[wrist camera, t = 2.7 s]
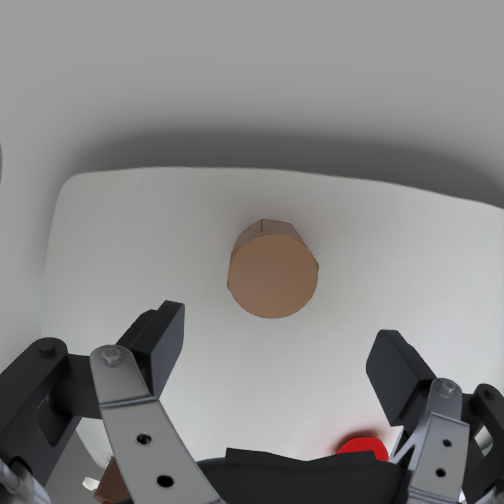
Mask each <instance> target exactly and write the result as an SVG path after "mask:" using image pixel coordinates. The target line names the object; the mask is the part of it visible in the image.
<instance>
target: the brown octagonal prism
mask: <svg viewBox="0 0 504 504" xmlns="http://www.w3.org/2000/svg"><path fill="white" fill-rule="evenodd" d="M318 269H319V266H318V263H317V261H316V260H315V258H314V257H313V255H312V254H311V252H310V251H309V249H308V248H307V246H306V245H305V243H304V242H303V241H302V239H301V238H300V236H299V235H298V233H297V232H296V231H295V229H294V228H293V226H292V225H291V224H289V223H284V222H277V221H271V220H265V219H263V220H260V221H258V222H257V223H256V224H254V225H253V226H252V227H250V228H249V229H247V230H246V231H245V232H243V233H242V234H241V235H239V237H238V239H237V241H236V244H235V246H234V248H233V251H232V253H231V259H230V266H229V271H228V282H227V286H228V289H229V290H230V291H231V293H232V295H233V297H234V299H235V300H236V301H237V303H238V304H239V305H240V306H241V307H242V308H244V309H245V310H246V311H247V312H249V313H251V314H253V315H256V316H259V317H263V318H271V319H272V318H282V317H286V316H289V315H291V314H293V313H295V312H297V311H298V310H300V309H301V308H302V307H303V306H305V305H306V304H307V302H308V301H309V300H311V299H310V298H312V295H313V293H314V291H315V288H316V285H317V276H318Z"/></svg>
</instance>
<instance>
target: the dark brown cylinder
mask: <svg viewBox="0 0 504 504" xmlns="http://www.w3.org/2000/svg"><path fill="white" fill-rule="evenodd" d="M129 496H131V495H130V493H129V491H128V489H127V487H126V484H125V482H124V480H123V477H122V475H121V472H120V470H119V467H118V465H117V462H116V459H115V457H112V458H111V460H110V462H109V464H108V467H107V469H106V471H105V473H104V475H103V477H102V479H101V481H100V483H99V486H98V488H97V490H96V492H95V494H94V498H95V499H96V500H97V501H99V502H100V503H102V504H114V503H116V502H118V501H120V500H122V499H124V498H126V497H129Z"/></svg>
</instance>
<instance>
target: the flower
mask: <svg viewBox="0 0 504 504" xmlns="http://www.w3.org/2000/svg"><path fill="white" fill-rule="evenodd" d="M368 450H374V453H375V456H376V459H377V460H383V461H388V459H389V456H388V452H387V450H386V448H385V446H384V444H383V443H382V442H381V441H380V440H379V439H378V438H376V437H359V438H354V439H351V440H349V441H348V442H347V443H346V444H344V445H343V446H342V447H341V448H340V449H339V450H338V451H337V452H336V454H339V453H345V452H358V451H368Z"/></svg>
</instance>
